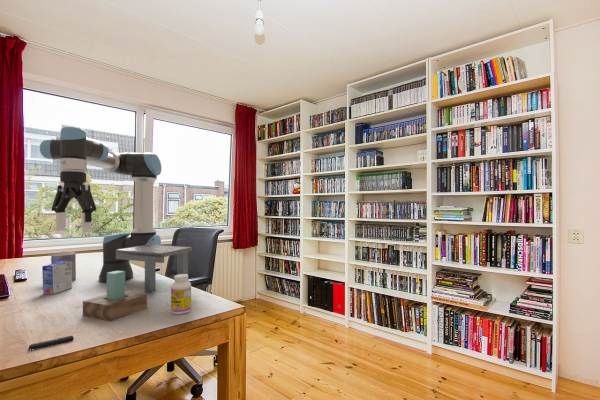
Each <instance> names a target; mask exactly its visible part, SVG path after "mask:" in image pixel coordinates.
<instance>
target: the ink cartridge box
mask: <svg viewBox="0 0 600 400" xmlns="http://www.w3.org/2000/svg"><path fill="white" fill-rule="evenodd" d="M55 259H56V260H58V261H53V260H55ZM50 260H51V261H52V263H53V264H51V263H50V264H46V265H42V267H41V269H42V294H43V295H44V294H45V295H54V294H57V293H61V292H63V291H67V290H70V289H72V288H73V281H72V262H65V261H62V262H60V260H59V258H53V259H51V258H50ZM51 261H50V262H51Z"/></svg>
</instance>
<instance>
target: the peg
mask: <svg viewBox="0 0 600 400" xmlns="http://www.w3.org/2000/svg"><path fill="white" fill-rule="evenodd" d="M125 291H126V280H125V271H113V272H108V273H107V282H106V294H107V300H112V301H115V300H118V299H121V298H125Z"/></svg>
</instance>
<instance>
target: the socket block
mask: <svg viewBox="0 0 600 400" xmlns="http://www.w3.org/2000/svg"><path fill="white" fill-rule="evenodd" d="M147 308H148V293H145V292H144V293H143V292H136V291H135V292H134V291H130V290H129V291H128V290H125V298H121V299H118V300H115V301H112V300H107V293H105V294H102V295H99V296H95V297H92V298H88V299H84V300H82V316H83V317H89V318H93V319H99V320H104V321H109V322H113V321H116V320H118V319H121V318H123V317H126V316H129V315H132V314H134V313H136V312H139V311H142V310H144V309H147Z"/></svg>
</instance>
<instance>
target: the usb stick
mask: <svg viewBox="0 0 600 400" xmlns="http://www.w3.org/2000/svg"><path fill="white" fill-rule="evenodd" d="M70 341H71V342H73V341H74V336H73V335H68V336H63V337H59V338H55V339H50V340H45V341H40V342H37V343H36V342H35V343H32V344H29V345H28V351H29V350H30V349H31V351H33V350H32V349H36V350H38V349H37V348H40V349H44V348H48V346H49V347H53V346H57V344H58V345H61V343H62V344H66V343H70ZM52 345H53V346H52ZM43 347H44V348H43Z"/></svg>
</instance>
